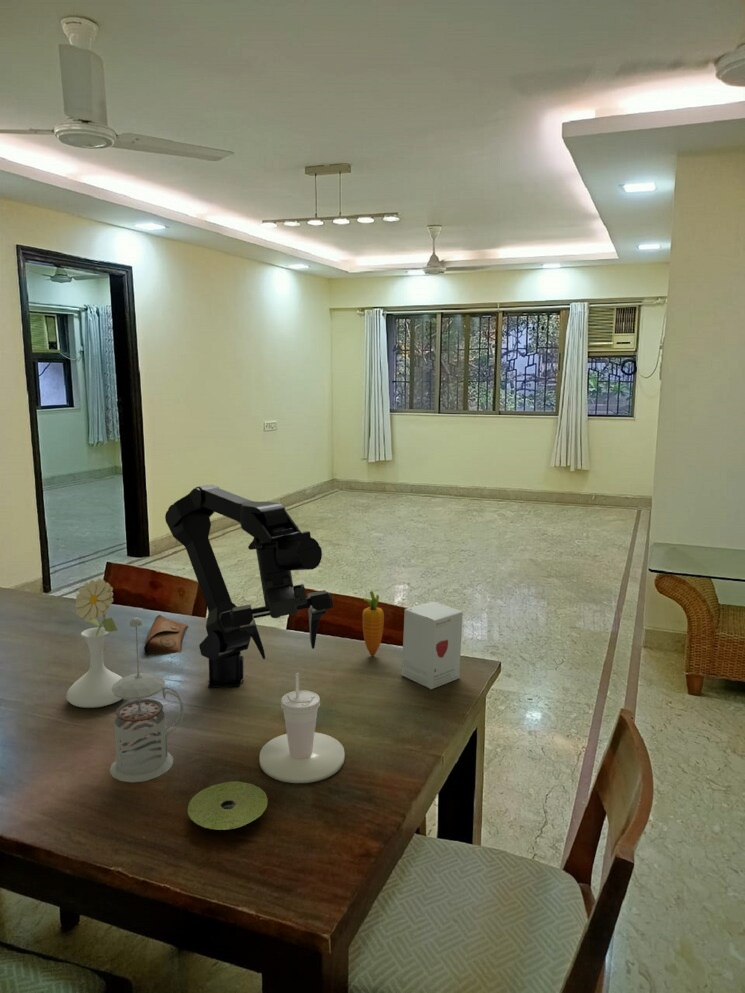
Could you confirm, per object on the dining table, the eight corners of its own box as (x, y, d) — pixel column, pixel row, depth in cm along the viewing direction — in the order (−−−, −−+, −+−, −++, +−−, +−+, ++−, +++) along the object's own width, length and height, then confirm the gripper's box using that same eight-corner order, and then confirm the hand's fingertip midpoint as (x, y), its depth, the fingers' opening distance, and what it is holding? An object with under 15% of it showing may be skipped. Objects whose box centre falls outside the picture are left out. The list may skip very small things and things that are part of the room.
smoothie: (293, 740, 118) (292, 663, 116) (326, 747, 116) (326, 669, 113) (274, 758, 112) (273, 678, 110) (309, 767, 110) (308, 685, 108)
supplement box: (431, 690, 140) (433, 620, 137) (400, 676, 147) (402, 608, 144) (461, 678, 146) (464, 611, 143) (430, 664, 153) (432, 600, 150)
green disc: (264, 840, 94) (264, 827, 94) (180, 843, 93) (180, 830, 93) (270, 791, 105) (270, 779, 105) (195, 793, 104) (195, 782, 104)
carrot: (381, 661, 154) (382, 597, 151) (359, 659, 155) (360, 595, 152) (385, 653, 158) (386, 590, 156) (364, 650, 159) (365, 588, 157)
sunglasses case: (183, 652, 156) (167, 629, 155) (156, 669, 156) (139, 646, 154) (189, 624, 174) (174, 603, 172) (164, 639, 173) (149, 618, 172)
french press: (108, 755, 114) (100, 611, 110) (180, 741, 119) (175, 603, 114) (111, 787, 105) (103, 632, 101) (188, 772, 110) (184, 622, 106)
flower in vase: (56, 699, 133) (48, 574, 129) (112, 681, 141) (106, 563, 137) (87, 723, 124) (79, 590, 120) (145, 702, 133) (140, 577, 128)
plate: (258, 785, 107) (258, 779, 106) (260, 738, 120) (260, 733, 120) (348, 780, 108) (348, 774, 108) (340, 735, 122) (340, 729, 122)
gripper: (224, 585, 118) (239, 674, 119) (330, 566, 122) (344, 652, 123) (224, 578, 129) (238, 660, 130) (322, 560, 133) (335, 640, 134)
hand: (288, 653), depth 129 cm, fingers open, 9 cm apart
